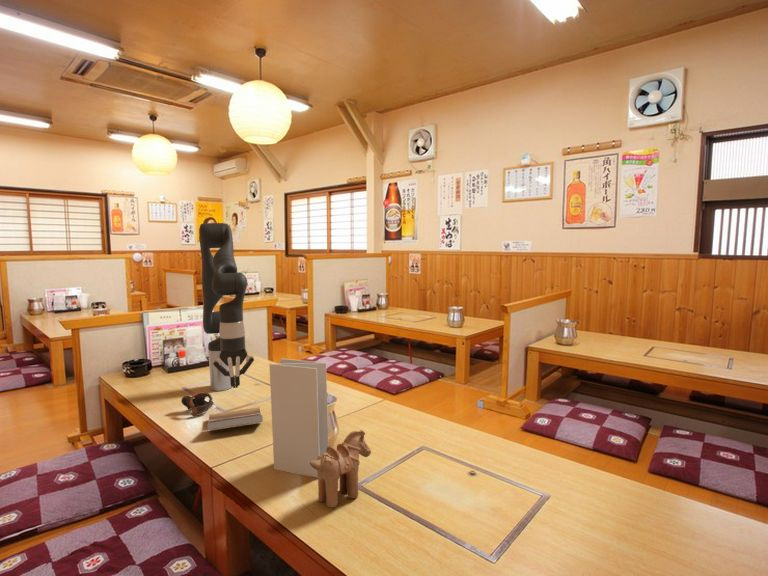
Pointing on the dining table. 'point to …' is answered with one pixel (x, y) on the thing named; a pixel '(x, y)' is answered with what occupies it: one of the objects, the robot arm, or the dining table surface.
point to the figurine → (340, 468)
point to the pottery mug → (197, 403)
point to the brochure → (298, 414)
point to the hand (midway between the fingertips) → (235, 387)
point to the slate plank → (234, 422)
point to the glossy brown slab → (234, 415)
